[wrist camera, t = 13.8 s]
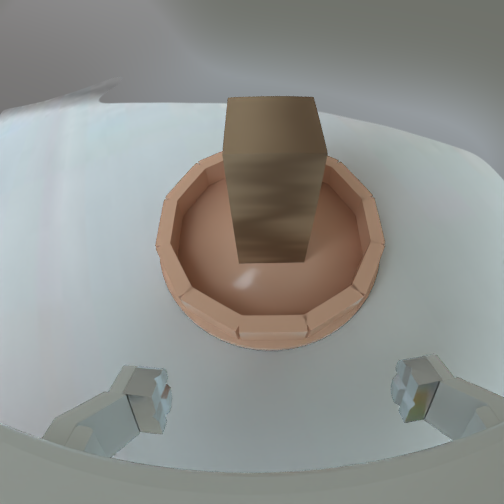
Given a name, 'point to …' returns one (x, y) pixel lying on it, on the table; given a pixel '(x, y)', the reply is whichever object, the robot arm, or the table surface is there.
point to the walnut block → (273, 175)
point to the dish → (268, 274)
